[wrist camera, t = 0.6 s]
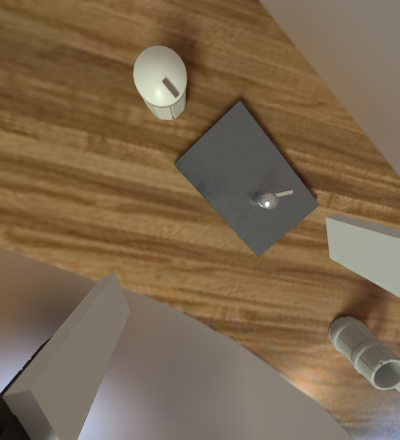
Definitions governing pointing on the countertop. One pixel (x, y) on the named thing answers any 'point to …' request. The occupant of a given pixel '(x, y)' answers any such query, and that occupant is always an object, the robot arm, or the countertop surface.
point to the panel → (247, 180)
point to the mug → (366, 352)
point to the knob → (161, 81)
